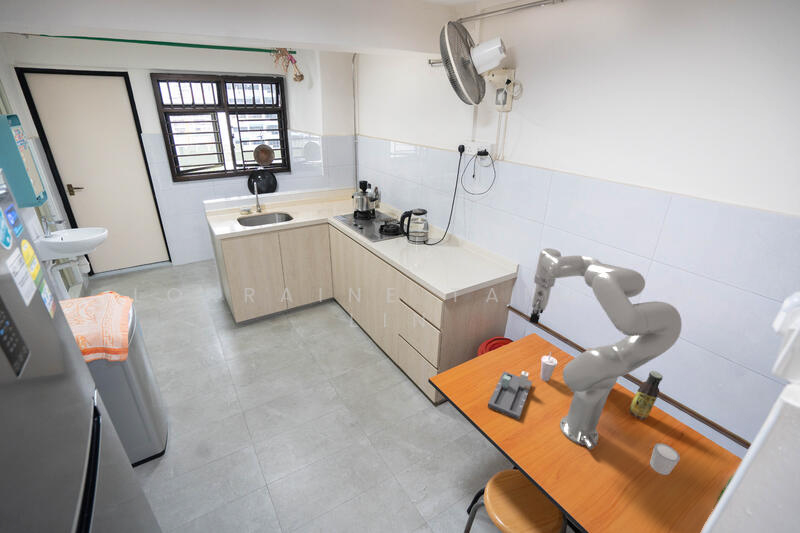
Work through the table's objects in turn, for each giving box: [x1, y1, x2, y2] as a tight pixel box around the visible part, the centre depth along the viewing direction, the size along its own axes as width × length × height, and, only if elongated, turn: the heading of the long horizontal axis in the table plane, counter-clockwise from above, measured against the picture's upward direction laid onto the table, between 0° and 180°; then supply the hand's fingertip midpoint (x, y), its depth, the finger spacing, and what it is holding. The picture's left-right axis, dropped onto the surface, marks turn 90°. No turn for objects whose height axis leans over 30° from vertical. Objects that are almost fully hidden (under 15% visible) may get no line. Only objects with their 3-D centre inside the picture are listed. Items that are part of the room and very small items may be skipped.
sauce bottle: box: [628, 370, 664, 421], centre depth 136 cm, size 7×6×20 cm
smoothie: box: [540, 351, 558, 382], centre depth 154 cm, size 6×6×14 cm
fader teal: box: [501, 375, 511, 390], centre depth 147 cm, size 2×3×5 cm
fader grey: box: [518, 370, 530, 390], centre depth 148 cm, size 2×3×7 cm
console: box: [487, 371, 533, 421], centre depth 146 cm, size 22×12×2 cm, turn 150°
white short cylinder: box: [649, 443, 680, 476], centre depth 118 cm, size 7×7×7 cm
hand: (536, 317), depth 148 cm, fingers open, 9 cm apart
